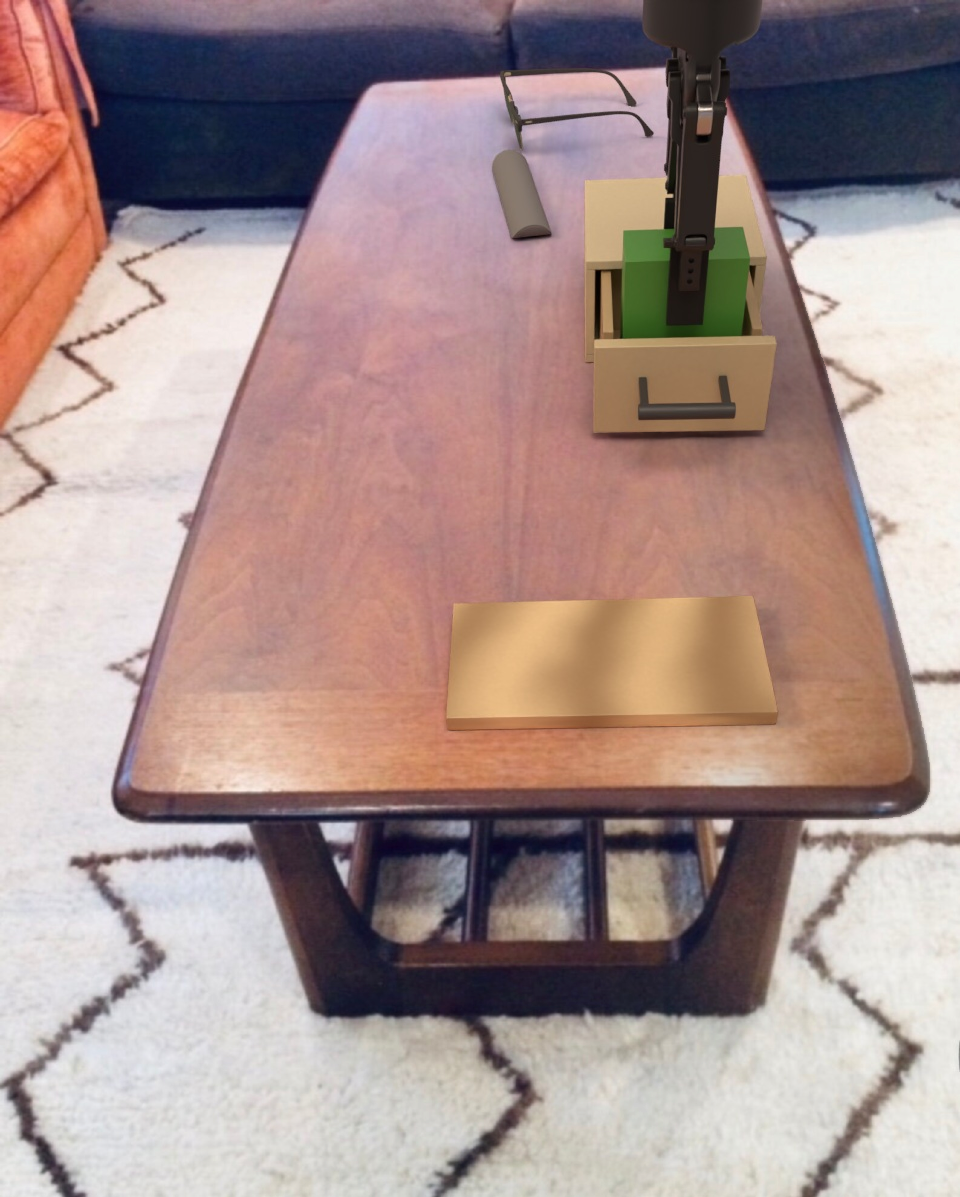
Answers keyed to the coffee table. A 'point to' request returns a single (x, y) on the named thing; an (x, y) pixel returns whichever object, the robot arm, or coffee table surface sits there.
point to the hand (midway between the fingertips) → (681, 299)
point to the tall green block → (650, 286)
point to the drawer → (679, 374)
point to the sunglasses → (520, 122)
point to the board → (608, 664)
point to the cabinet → (643, 209)
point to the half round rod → (519, 195)
